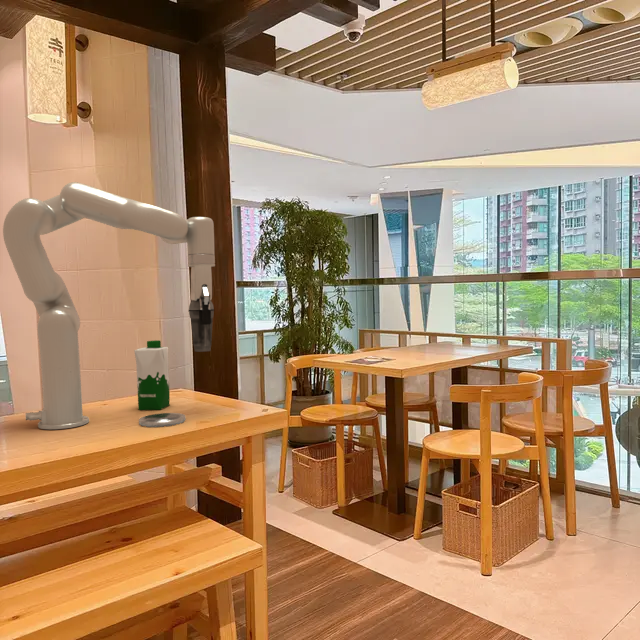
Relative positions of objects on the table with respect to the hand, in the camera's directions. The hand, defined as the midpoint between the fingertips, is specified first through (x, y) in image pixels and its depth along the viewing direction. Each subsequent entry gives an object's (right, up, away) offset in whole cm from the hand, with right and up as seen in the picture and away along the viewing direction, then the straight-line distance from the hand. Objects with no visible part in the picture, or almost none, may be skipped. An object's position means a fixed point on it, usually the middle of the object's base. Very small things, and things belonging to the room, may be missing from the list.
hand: (203, 323), depth 170 cm
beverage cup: (0, -8, 0) cm, 8 cm away
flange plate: (-9, -26, -11) cm, 30 cm away
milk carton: (-17, -26, +10) cm, 32 cm away
